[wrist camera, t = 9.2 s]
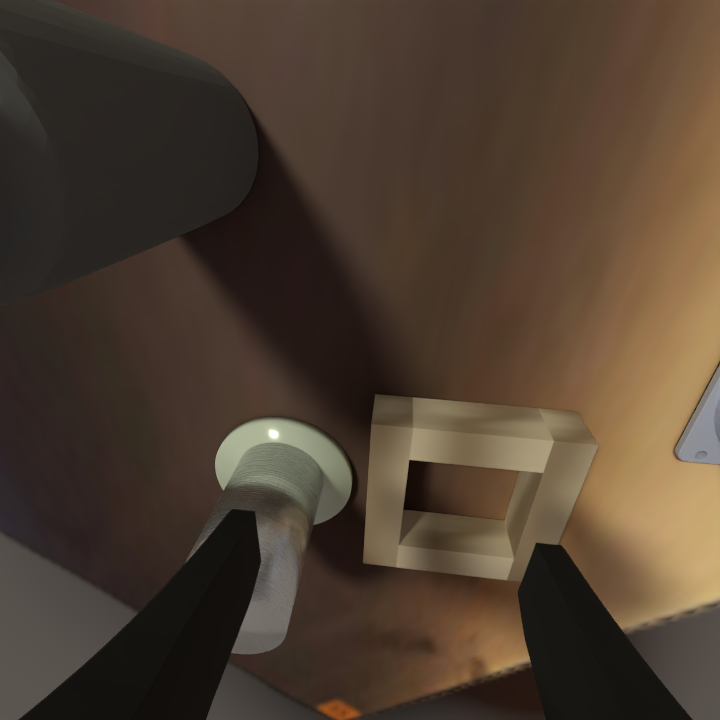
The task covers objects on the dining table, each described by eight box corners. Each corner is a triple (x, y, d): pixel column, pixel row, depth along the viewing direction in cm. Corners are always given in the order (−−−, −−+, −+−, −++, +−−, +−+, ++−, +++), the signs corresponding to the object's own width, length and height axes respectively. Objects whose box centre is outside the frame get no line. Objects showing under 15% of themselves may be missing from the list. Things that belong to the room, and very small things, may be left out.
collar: (577, 411, 20) (598, 445, 18) (530, 545, 25) (541, 584, 23) (375, 394, 21) (371, 424, 19) (366, 526, 26) (362, 563, 23)
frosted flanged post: (323, 447, 22) (283, 591, 15) (323, 511, 24) (288, 661, 17) (234, 437, 22) (154, 574, 15) (242, 501, 25) (176, 644, 18)
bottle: (272, 216, 17) (-176, 472, 4) (143, 224, 18) (-593, 463, 5) (243, 43, 14) (-1526, -983, 1) (92, 61, 15) (-2019, -458, 2)
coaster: (354, 423, 22) (353, 430, 21) (350, 525, 26) (349, 533, 25) (210, 410, 22) (205, 416, 22) (228, 511, 26) (224, 519, 26)
